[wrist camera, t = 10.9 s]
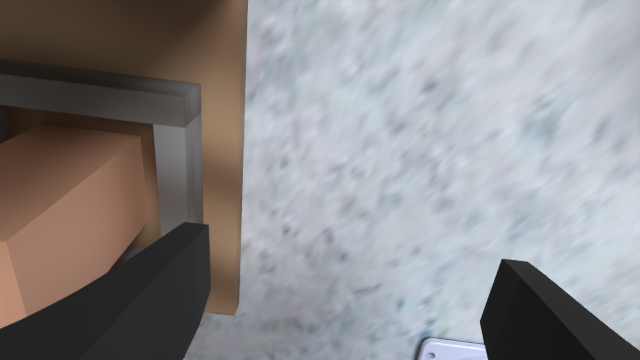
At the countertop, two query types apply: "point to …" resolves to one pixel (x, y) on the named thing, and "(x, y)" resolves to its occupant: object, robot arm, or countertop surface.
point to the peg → (64, 212)
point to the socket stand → (143, 103)
